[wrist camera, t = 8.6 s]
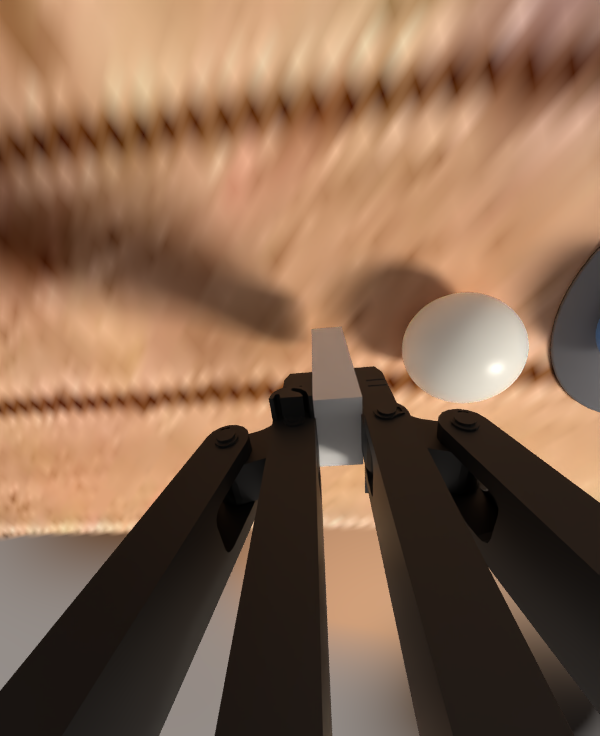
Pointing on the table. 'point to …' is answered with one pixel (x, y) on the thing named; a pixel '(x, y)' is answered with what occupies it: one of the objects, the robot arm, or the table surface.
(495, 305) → the white ball
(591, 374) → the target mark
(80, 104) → the table surface
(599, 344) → the blue ball
